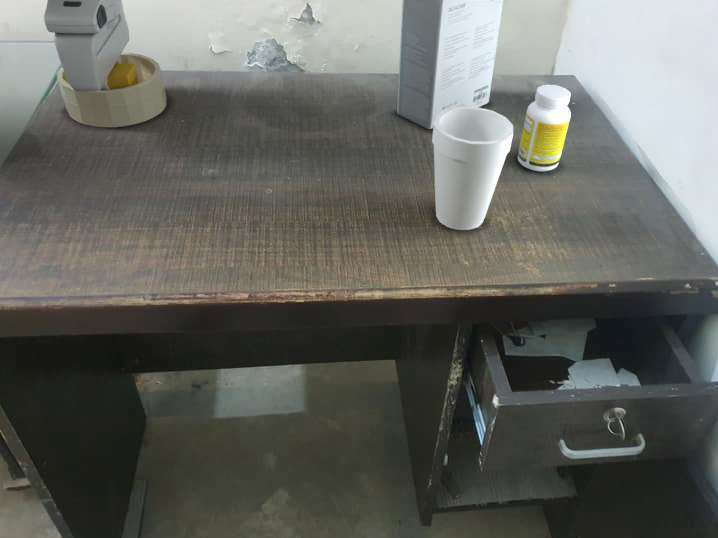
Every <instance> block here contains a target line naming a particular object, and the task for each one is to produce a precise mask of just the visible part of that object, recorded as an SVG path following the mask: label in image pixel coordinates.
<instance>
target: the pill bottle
mask: <svg viewBox="0 0 718 538" xmlns="http://www.w3.org/2000/svg"><path fill="white" fill-rule="evenodd" d="M571 94H572V93H571V92H570V90H568V89H567V88H566V87H563V86H560V85H557V84H541V85H539V86H538V87H537V88H536V91H535V96H534V101H532V102H531V103H529V105H528V107H527V109H526V113H525V118H524V123H523V128H522V133H521V138H520V142H519V147H518V153H517V161H518V162H519V164H520V165H521V166H522V167H524V168H526V169H529V170H531V171H534V172H548V171H552V170H555V169H556V168H557V167H558V165H559V163H560V160H561V157H562V152H563V149H564V145H565V141H566V136H567V133H568V128H569V125H570V120H571V116H572V113H571V110H570V108H569V107H568V105H569V103H570V99H571Z"/></svg>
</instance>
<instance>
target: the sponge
mask: <svg viewBox="0 0 718 538" xmlns="http://www.w3.org/2000/svg"><path fill="white" fill-rule="evenodd" d="M107 80H108V82H107V84H108V87H109V89H110V90H112V89H121V88H125V87H129V86H134V85H137V84H138V80H137V75H136V71H135V66H134V64H118V63H115V65H114V67H113V69H112V70H111V72H110V74H109V75H108V77H107Z"/></svg>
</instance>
